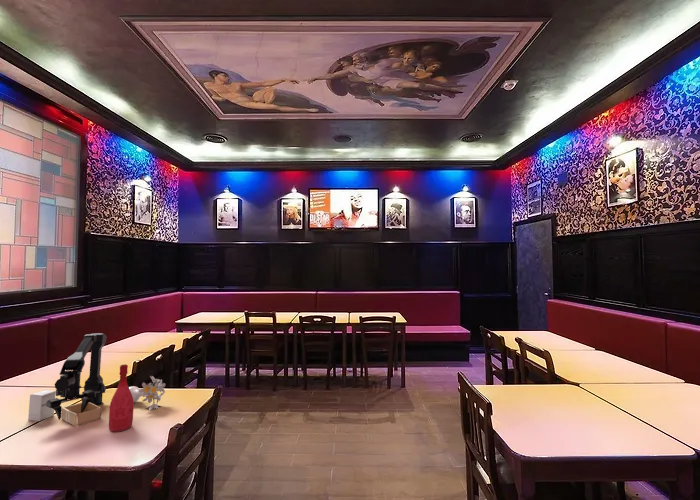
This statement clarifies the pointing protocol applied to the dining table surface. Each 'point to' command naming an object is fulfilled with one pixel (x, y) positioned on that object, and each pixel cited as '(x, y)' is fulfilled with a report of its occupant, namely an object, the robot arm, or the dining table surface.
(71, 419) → the flap
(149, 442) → the dining table surface
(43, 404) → the supplement box
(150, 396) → the flower vase
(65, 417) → the flap
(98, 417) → the carton
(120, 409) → the wine bottle
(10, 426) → the dining table surface
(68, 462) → the dining table surface
